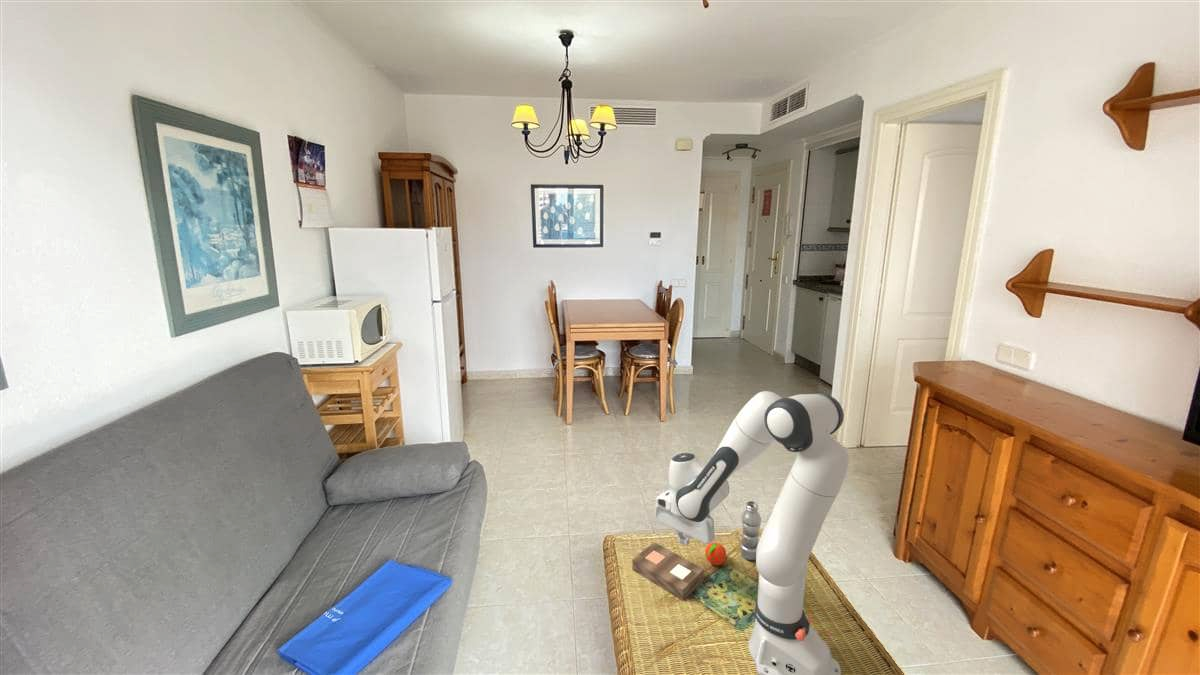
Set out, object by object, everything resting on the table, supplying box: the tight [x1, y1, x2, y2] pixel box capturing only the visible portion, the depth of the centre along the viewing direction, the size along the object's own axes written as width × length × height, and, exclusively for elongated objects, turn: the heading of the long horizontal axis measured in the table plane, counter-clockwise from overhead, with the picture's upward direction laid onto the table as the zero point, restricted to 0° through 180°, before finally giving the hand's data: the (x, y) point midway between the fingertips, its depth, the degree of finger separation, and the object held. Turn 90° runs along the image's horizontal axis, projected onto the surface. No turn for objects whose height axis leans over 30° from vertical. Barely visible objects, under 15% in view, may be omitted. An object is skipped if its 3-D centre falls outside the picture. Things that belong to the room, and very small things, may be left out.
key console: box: [631, 542, 705, 602], centre depth 156 cm, size 20×12×4 cm, turn 46°
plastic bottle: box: [739, 500, 762, 561], centre depth 162 cm, size 6×7×20 cm
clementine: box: [704, 542, 727, 566], centre depth 160 cm, size 8×7×7 cm
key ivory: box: [669, 564, 691, 580], centre depth 152 cm, size 5×5×3 cm
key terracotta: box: [645, 550, 666, 565], centre depth 159 cm, size 5×5×3 cm
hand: (683, 543), depth 150 cm, fingers closed
